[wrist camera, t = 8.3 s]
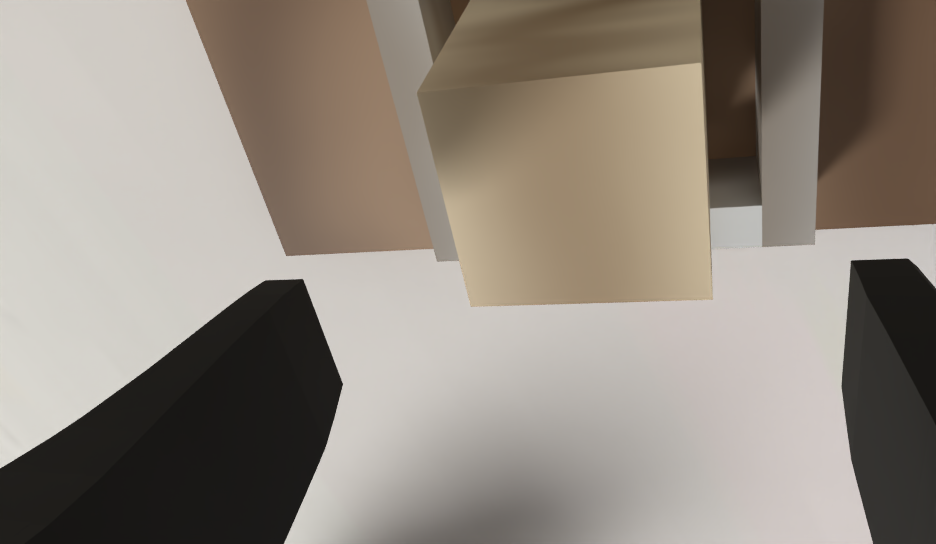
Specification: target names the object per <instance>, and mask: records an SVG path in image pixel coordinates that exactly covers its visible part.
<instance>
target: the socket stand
mask: <svg viewBox="0 0 936 544" xmlns="http://www.w3.org/2000/svg"><path fill="white" fill-rule="evenodd" d="M186 2H187V5H188V7H189V10H190V12H191V15H192V17H193V20H194V22H195V25H196V28H197V30H198V33H199V35H200V38H201V40H202V43H203V45H204V48H205V50H206V53H207V56H208V58H209V61H210V63H211V66H212V68H213V71H214V73H215V76H216V78H217V81H218V83H219V86H220V89H221V91H222V94H223V96H224V99H225V101H226V104H227V106H228V109H229V111H230V114H231V117H232V119H233V122H234V124H235V127H236V129H237V132H238V134H239V137H240V139H241V142H242V145H243V147H244V150H245V152H246V155H247V157H248V160H249V162H250V165H251V167H252V170H253V173H254V175H255V178H256V180H257V183H258V185H259V188H260V190H261V193H262V195H263V198H264V201H265V203H266V206H267V208H268V211H269V213H270V216H271V218H272V221H273V223H274V226H275V228H276V231H277V234H278V236H279V239H280V241H281V244H282V246H283V249H284V251H285V254H286V256H295V255H315V254H335V253H355V252H375V251H396V250H416V249H434V252H435V256H436V259H437V262H439V261H459V258H458V254H457V250H456V246H455V242H454V238H453V234H452V230H451V226H450V222H449V218H448V214H447V211H446V207H445V203H444V199H443V195H442V191H441V187H440V183H439V179H438V175H437V171H436V167H435V163H434V159H433V155H432V151H431V148H430V144H429V140H428V136H427V132H426V128H425V124H424V120H423V116H422V112H421V108H420V104H419V100H418V96H417V91H418V89H419V88H420V86H421V84H422V83H423V81H424V79H425V77H426V76H427V74H428V72H429V71H430V69H431V67H432V65H433V64H434V62H435V60H436V58H437V57H438V55H439V53H440V52H441V50H442V48H443V46H444V45H445V43H446V41H447V39H448V38H449V36H450V34H451V33H452V31H453V29H454V27H455V26H456V24H457V22H458V21H459V19H460V17H461V15H462V14H463V12H464V10H465V8H466V7H467V5H468V3H469V2H470V0H186ZM702 20H703V42H704V64H705V86H706V108H707V132H708V165H709V198H710V230H711V249H727V248H749V247H772V246H794V245H815V230H819V229H839V228H859V227H879V226H899V225H920V224H936V0H702Z"/></svg>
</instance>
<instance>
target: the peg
mask: <svg viewBox="0 0 936 544" xmlns="http://www.w3.org/2000/svg"><path fill="white" fill-rule="evenodd" d="M417 96H418V100H419V104H420V108H421V112H422V116H423V120H424V124H425V128H426V132H427V136H428V140H429V144H430V148H431V151H432V155H433V159H434V163H435V167H436V171H437V175H438V179H439V183H440V187H441V191H442V195H443V199H444V203H445V207H446V211H447V214H448V218H449V222H450V226H451V230H452V234H453V238H454V242H455V246H456V250H457V254H458V258H459V262H460V266H461V270H462V274H463V277H464V281H465V285H466V289H467V293H468V297H469V301H470V305H471V307H478V306H512V305H546V304H580V303H614V302H648V301H681V300H713V296H712V263H711V230H710V198H709V165H708V132H707V108H706V86H705V64H704V42H703V20H702V0H470V2H469V3H468V5H467V7H466V8H465V10H464V12H463V14H462V15H461V17H460V19H459V21H458V22H457V24H456V26H455V27H454V29H453V31H452V33H451V34H450V36H449V38H448V39H447V41H446V43H445V45H444V46H443V48H442V50H441V52H440V53H439V55H438V57H437V58H436V60H435V62H434V64H433V65H432V67H431V69H430V71H429V72H428V74H427V76H426V77H425V79H424V81H423V83H422V84H421V86H420V88H419V89H418V91H417Z"/></svg>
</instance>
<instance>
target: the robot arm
mask: <svg viewBox="0 0 936 544" xmlns="http://www.w3.org/2000/svg"><path fill="white" fill-rule="evenodd" d="M342 386H343V383H342V381H341V378H340V375H339V373H338V370H337V367H336V365H335V362H334V360H333V357H332V354H331V352H330V349H329V346H328V344H327V341H326V338H325V336H324V333H323V331H322V328H321V325H320V323H319V320H318V317H317V315H316V312H315V309H314V307H313V304H312V302H311V299H310V296H309V294H308V291H307V288H306V286H305V283H304V280H303V279H296V280H267V281H264V282H262V283H261V284H259V285H258V286H256V287H255V288H253V289H252V290H250V291H249V292H247V293H246V294H244V295H243V296H242V297H240V298H239V299H238V300H236V301H235V302H234V303H232V304H231V305H230V306H228V307H227V308H226V309H224V310H223V311H222V312H221V313H219V314H218V315H217V316H215V317H214V318H213V319H212V320H210V321H209V322H208V323H206V324H205V325H204V326H203V327H201V328H200V329H199V330H198V331H196V332H195V333H194V334H192V335H191V336H190V337H189V338H187V339H186V340H185V341H183V342H182V343H181V344H180V345H178V346H177V347H176V348H174V349H173V350H172V351H171V352H169V353H168V354H167V355H165V356H164V357H163V358H162V359H160V360H159V361H158V362H156V363H155V364H154V365H153V366H151V367H150V368H149V369H147V370H146V371H145V372H143V373H142V374H141V375H139V376H138V377H136V378H135V379H134V380H132V381H131V382H130V383H128V384H127V385H125V386H124V387H123V388H121V389H120V390H119V391H117V392H116V393H114V394H113V395H112V396H110V397H109V398H108V399H106V400H105V401H103V402H102V403H101V404H99V405H98V406H97V407H95V408H94V409H92V410H91V411H90V412H88V413H87V414H85V415H84V416H83V417H81V418H80V419H78V420H77V421H75V422H74V423H72V424H71V425H69V426H68V427H66V428H65V429H63V430H62V431H60V432H59V433H57V434H56V435H54V436H52V437H51V438H49V439H48V440H46V441H45V442H43V443H41V444H40V445H38V446H36V447H35V448H33V449H32V450H30V451H28V452H27V453H25V454H23V455H22V456H20V457H19V458H17V459H15V460H14V461H12V462H10V463H9V464H7V465H5V466H4V467H2V468H0V544H284V542H285V540H286V538H287V535H288V533H289V531H290V528H291V526H292V524H293V522H294V519H295V517H296V515H297V513H298V510H299V508H300V506H301V504H302V501H303V499H304V497H305V494H306V492H307V490H308V487H309V485H310V483H311V480H312V478H313V476H314V473H315V471H316V469H317V466H318V464H319V462H320V459H321V457H322V454H323V452H324V450H325V447H326V444H327V441H328V437H329V434H330V431H331V427H332V424H333V421H334V417H335V413H336V409H337V405H338V401H339V397H340V393H341V390H342ZM842 393H843V401H844V409H845V417H846V425H847V432H848V439H849V446H850V453H851V460H852V464H853V468H854V472H855V476H856V480H857V484H858V487H859V491H860V495H861V499H862V503H863V507H864V510H865V514H866V518H867V522H868V526H869V529H870V533H871V537H872V541H873V544H936V288H935V287H934V286H933V285H932V283H931V282H930V281H929V280H928V279H927V278H926V276H925V275H924V274H923V273H922V272H921V271H920V269H919V268H918V267H917V266H916V265H915V264H914V263H912V262H911V261H910V260H909V259H882V260H853V261H851V270H850V283H849V296H848V309H847V322H846V335H845V348H844V361H843V374H842Z"/></svg>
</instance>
